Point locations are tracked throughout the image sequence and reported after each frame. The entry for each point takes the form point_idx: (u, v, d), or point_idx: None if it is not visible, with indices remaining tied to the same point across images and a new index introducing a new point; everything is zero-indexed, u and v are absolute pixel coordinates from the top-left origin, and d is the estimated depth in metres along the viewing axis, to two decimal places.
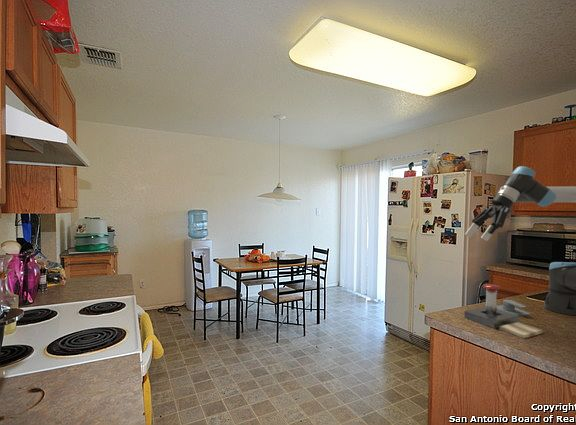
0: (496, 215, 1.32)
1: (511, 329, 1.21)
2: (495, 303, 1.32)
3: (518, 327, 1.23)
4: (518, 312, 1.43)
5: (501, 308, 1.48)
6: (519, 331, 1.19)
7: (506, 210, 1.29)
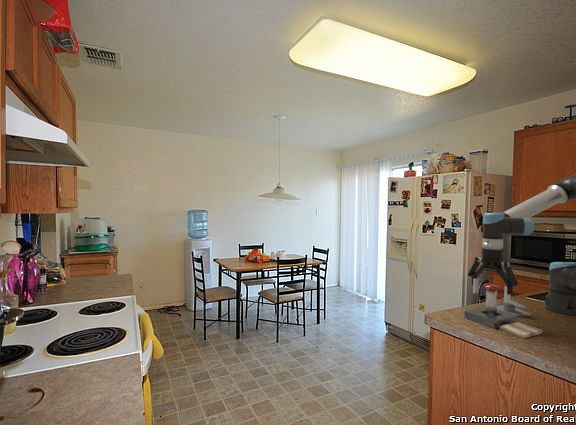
0: (501, 272, 1.29)
1: (511, 329, 1.21)
2: (495, 303, 1.32)
3: (518, 327, 1.23)
4: (519, 312, 1.42)
5: (502, 308, 1.47)
6: (519, 331, 1.19)
7: (508, 265, 1.27)
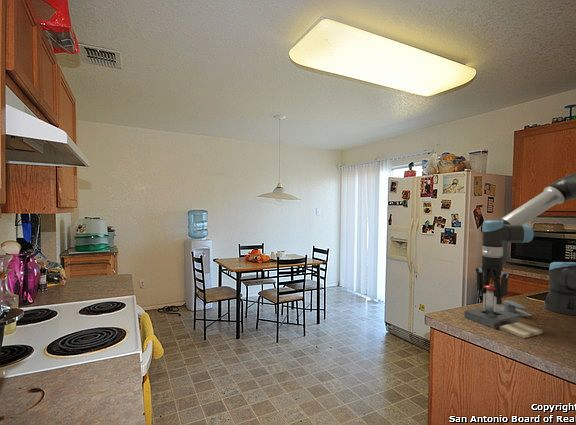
0: (497, 282, 1.31)
1: (511, 329, 1.21)
2: None
3: (518, 327, 1.23)
4: (519, 313, 1.41)
5: (502, 309, 1.47)
6: (519, 331, 1.19)
7: (507, 277, 1.28)
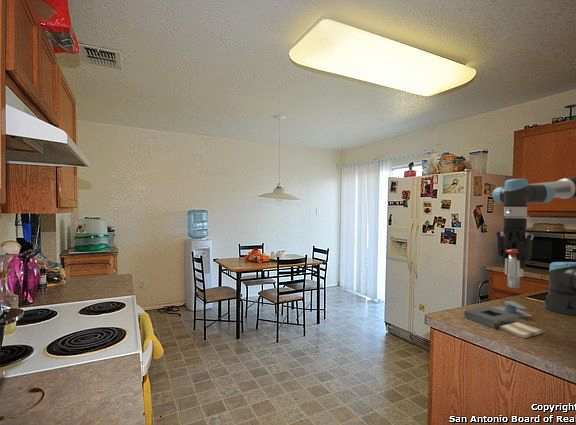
0: (520, 244, 1.22)
1: (511, 329, 1.21)
2: None
3: (518, 327, 1.23)
4: (520, 314, 1.40)
5: (503, 309, 1.46)
6: (519, 331, 1.19)
7: (531, 238, 1.19)
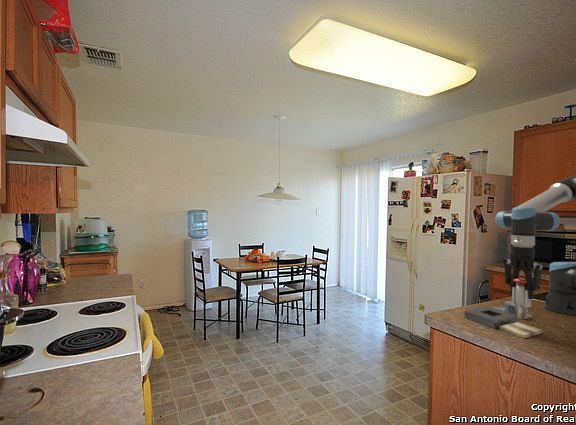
0: (528, 274, 1.19)
1: (511, 329, 1.21)
2: None
3: (518, 327, 1.23)
4: None
5: (503, 310, 1.46)
6: (519, 331, 1.19)
7: (540, 268, 1.16)
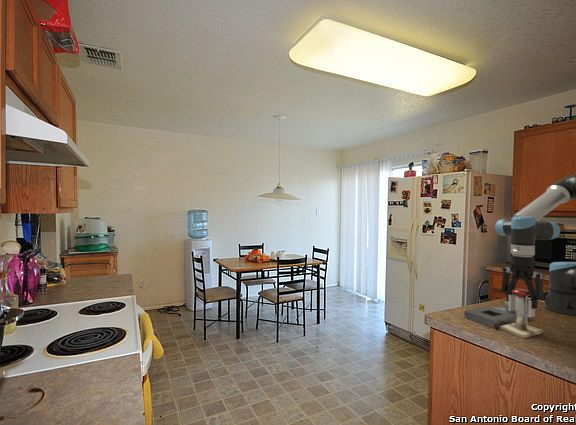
0: (530, 283, 1.19)
1: (511, 329, 1.21)
2: (526, 309, 1.20)
3: None
4: None
5: (503, 310, 1.45)
6: (519, 331, 1.19)
7: (541, 277, 1.16)
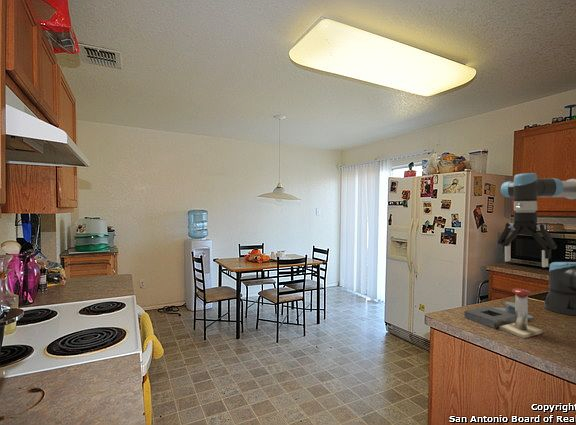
0: (537, 236, 1.21)
1: (511, 329, 1.21)
2: (526, 310, 1.20)
3: None
4: None
5: (504, 310, 1.45)
6: (519, 331, 1.19)
7: (545, 227, 1.19)
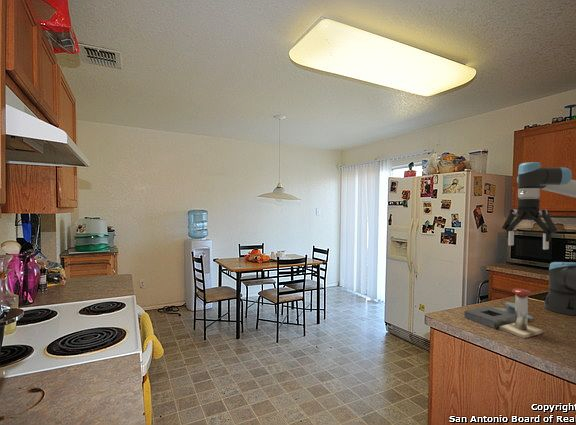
0: (539, 220, 1.30)
1: (511, 329, 1.21)
2: (526, 310, 1.20)
3: None
4: None
5: None
6: (519, 331, 1.19)
7: (547, 212, 1.28)
